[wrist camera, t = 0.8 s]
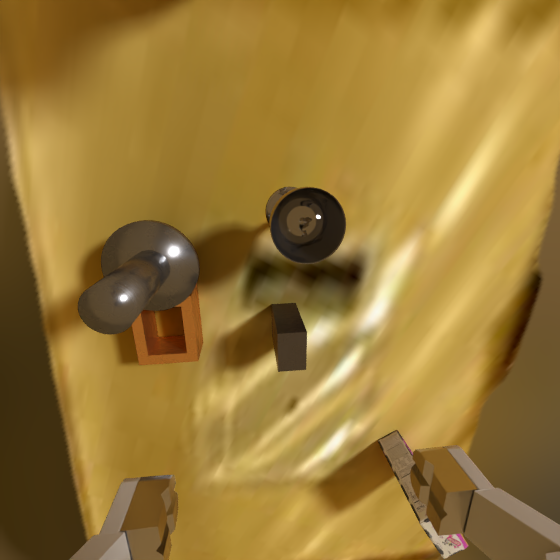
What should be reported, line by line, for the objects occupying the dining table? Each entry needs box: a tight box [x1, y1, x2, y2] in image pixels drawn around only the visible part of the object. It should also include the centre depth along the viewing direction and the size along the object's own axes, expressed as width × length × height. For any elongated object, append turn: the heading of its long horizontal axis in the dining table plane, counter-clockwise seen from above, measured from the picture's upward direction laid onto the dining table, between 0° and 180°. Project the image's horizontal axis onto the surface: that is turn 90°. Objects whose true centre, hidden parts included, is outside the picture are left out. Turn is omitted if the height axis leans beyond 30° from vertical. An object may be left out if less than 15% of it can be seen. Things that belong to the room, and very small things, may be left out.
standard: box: [78, 220, 203, 365], centre depth 38 cm, size 21×12×20 cm, turn 1°
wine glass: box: [266, 187, 346, 264], centre depth 38 cm, size 8×8×15 cm
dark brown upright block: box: [272, 303, 307, 372], centre depth 47 cm, size 6×4×10 cm, turn 1°
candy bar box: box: [378, 430, 468, 559], centre depth 56 cm, size 11×5×16 cm, turn 32°
